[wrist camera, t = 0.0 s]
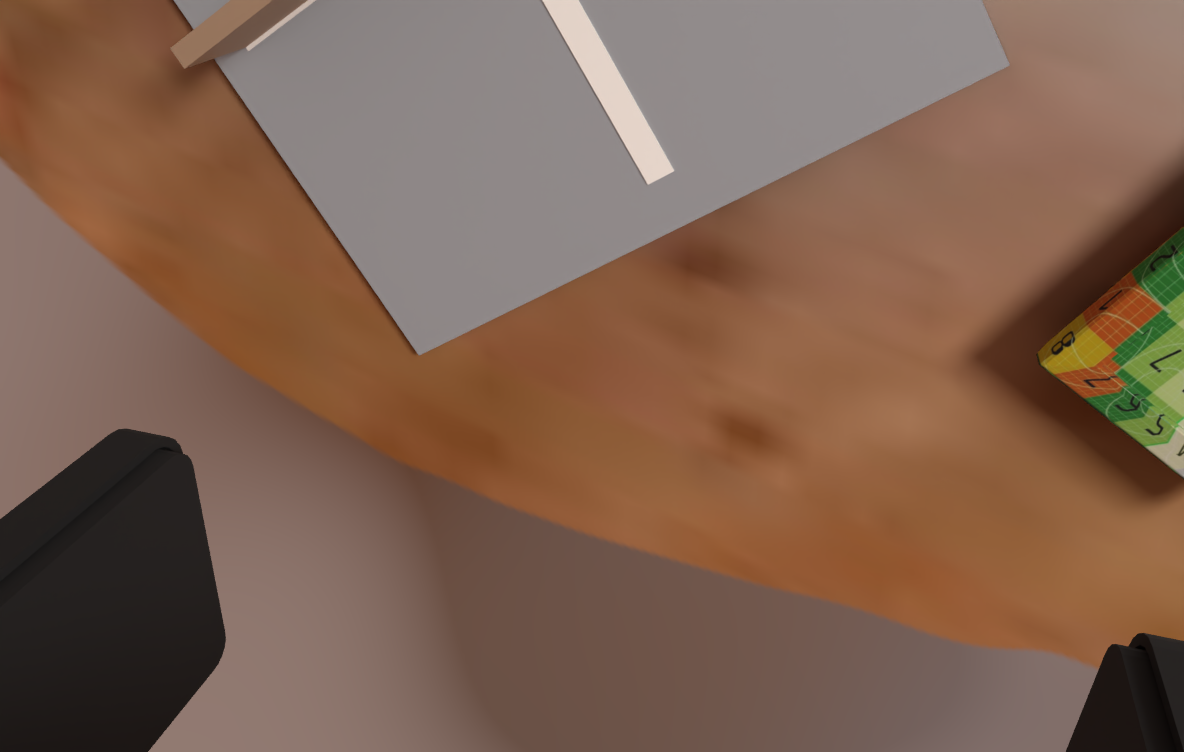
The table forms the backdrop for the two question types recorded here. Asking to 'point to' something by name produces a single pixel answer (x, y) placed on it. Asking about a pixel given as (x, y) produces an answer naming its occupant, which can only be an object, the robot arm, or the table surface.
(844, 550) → the table surface
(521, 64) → the board
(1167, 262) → the puzzle game
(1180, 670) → the robot arm
